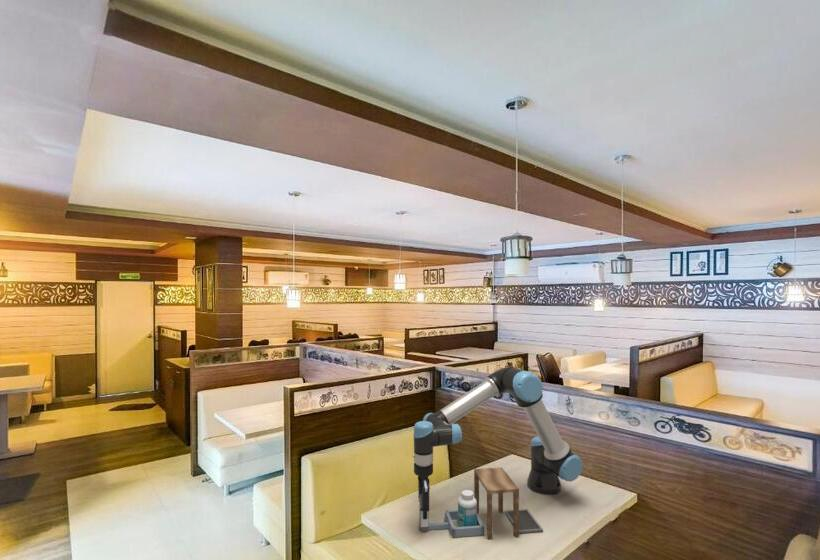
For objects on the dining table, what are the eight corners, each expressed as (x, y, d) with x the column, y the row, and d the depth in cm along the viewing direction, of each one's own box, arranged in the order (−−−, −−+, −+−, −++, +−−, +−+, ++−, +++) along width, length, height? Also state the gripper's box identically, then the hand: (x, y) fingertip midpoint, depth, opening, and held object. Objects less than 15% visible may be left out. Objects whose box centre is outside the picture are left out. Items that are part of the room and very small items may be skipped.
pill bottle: (455, 522, 168) (455, 488, 168) (473, 520, 169) (473, 487, 169) (461, 533, 161) (461, 498, 161) (479, 531, 162) (479, 496, 162)
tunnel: (501, 510, 177) (501, 467, 177) (518, 537, 158) (518, 488, 158) (474, 512, 175) (474, 469, 176) (488, 539, 157) (488, 490, 157)
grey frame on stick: (474, 515, 173) (474, 484, 173) (484, 535, 159) (484, 500, 159) (417, 519, 170) (417, 487, 170) (422, 539, 156) (422, 504, 156)
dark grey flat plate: (527, 511, 176) (527, 509, 176) (543, 532, 161) (543, 529, 161) (504, 513, 175) (504, 510, 175) (518, 534, 160) (518, 531, 160)
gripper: (411, 454, 171) (411, 512, 171) (417, 472, 155) (417, 536, 154) (429, 453, 172) (429, 510, 172) (437, 471, 156) (437, 535, 155)
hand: (423, 522), depth 163 cm, fingers closed on grey frame on stick, 4 cm apart
